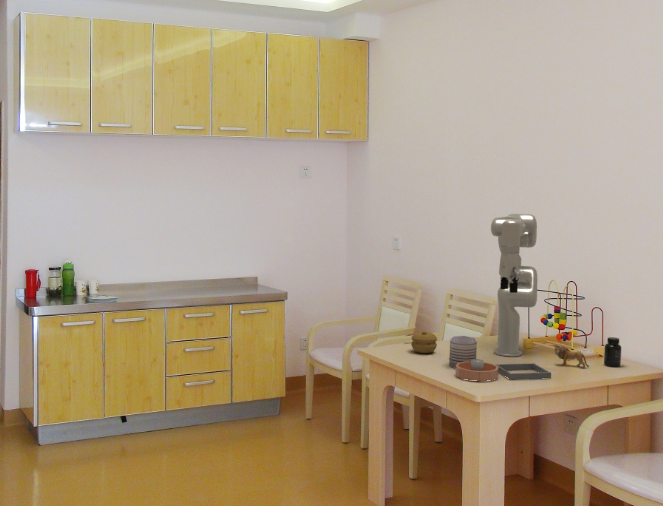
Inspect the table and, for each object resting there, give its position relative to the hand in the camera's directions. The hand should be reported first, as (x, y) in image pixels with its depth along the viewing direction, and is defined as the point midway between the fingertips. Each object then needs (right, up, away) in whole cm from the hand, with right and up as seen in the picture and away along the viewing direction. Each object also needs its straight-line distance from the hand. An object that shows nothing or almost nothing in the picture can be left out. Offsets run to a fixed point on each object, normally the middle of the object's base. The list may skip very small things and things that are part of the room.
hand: (508, 290), depth 313 cm
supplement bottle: (+48, -33, +12) cm, 59 cm away
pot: (-32, -30, +31) cm, 54 cm away
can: (-18, -33, +6) cm, 38 cm away
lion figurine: (+29, -33, +9) cm, 45 cm away
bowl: (-15, -34, -10) cm, 39 cm away
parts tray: (+4, -34, -6) cm, 35 cm away
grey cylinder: (-15, -34, -10) cm, 38 cm away
